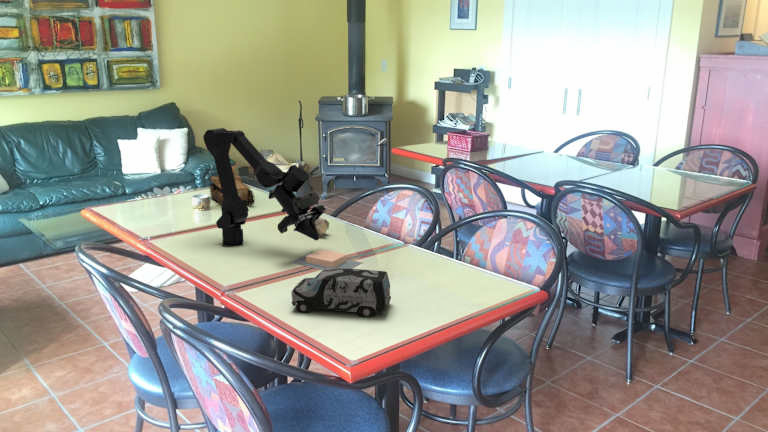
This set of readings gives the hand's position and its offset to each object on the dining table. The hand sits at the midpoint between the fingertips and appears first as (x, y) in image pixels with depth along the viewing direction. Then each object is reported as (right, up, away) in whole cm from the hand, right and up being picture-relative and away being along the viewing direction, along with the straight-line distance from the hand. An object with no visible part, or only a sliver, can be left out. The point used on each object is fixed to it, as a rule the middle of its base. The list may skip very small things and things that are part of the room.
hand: (318, 239), depth 198 cm
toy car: (+10, -17, -33) cm, 38 cm away
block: (-2, -5, +2) cm, 6 cm away
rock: (-4, 0, +31) cm, 31 cm away
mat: (+2, -8, 0) cm, 8 cm away
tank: (-45, +13, +77) cm, 90 cm away
